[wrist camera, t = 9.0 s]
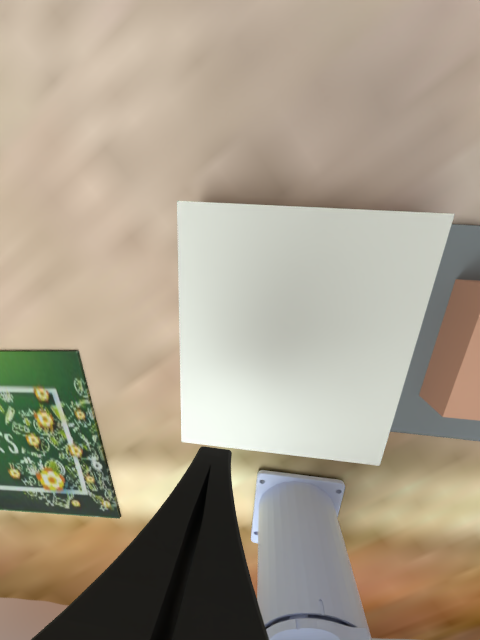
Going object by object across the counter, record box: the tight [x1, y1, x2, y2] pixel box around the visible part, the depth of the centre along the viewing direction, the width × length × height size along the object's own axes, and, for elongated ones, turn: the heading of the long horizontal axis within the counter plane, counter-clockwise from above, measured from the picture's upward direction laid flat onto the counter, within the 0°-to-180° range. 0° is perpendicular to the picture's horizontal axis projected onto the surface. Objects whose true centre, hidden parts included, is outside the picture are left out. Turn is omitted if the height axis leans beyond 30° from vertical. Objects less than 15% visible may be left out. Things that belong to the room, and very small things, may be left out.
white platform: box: [177, 201, 455, 466], centre depth 16 cm, size 16×14×4 cm
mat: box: [390, 224, 480, 441], centre depth 17 cm, size 16×12×1 cm
